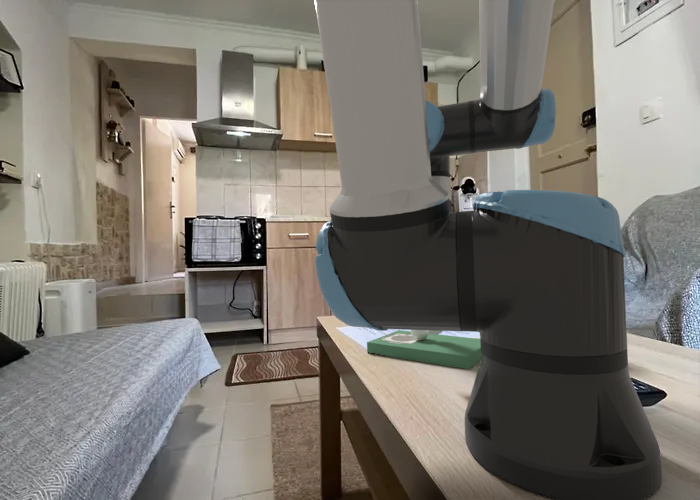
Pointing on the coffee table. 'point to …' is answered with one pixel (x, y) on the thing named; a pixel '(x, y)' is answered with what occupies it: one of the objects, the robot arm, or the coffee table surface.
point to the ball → (420, 334)
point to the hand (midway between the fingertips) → (435, 332)
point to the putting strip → (429, 348)
